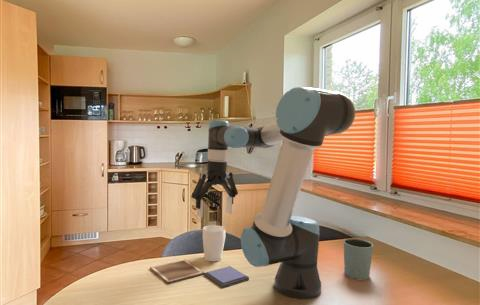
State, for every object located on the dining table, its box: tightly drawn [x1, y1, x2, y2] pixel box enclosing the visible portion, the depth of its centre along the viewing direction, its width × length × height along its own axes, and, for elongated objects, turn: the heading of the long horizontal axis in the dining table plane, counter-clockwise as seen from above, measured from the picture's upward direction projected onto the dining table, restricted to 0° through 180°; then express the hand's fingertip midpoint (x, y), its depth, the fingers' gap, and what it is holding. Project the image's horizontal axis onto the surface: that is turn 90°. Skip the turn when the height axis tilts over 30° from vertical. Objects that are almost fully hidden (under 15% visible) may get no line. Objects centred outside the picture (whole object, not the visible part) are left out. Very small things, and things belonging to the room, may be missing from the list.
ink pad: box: [203, 265, 250, 289], centre depth 114 cm, size 11×11×1 cm
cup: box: [202, 224, 227, 262], centre depth 130 cm, size 9×9×12 cm
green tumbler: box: [343, 238, 374, 281], centre depth 121 cm, size 10×10×12 cm
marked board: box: [149, 258, 205, 285], centre depth 116 cm, size 14×14×1 cm
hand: (214, 214), depth 129 cm, fingers open, 13 cm apart
